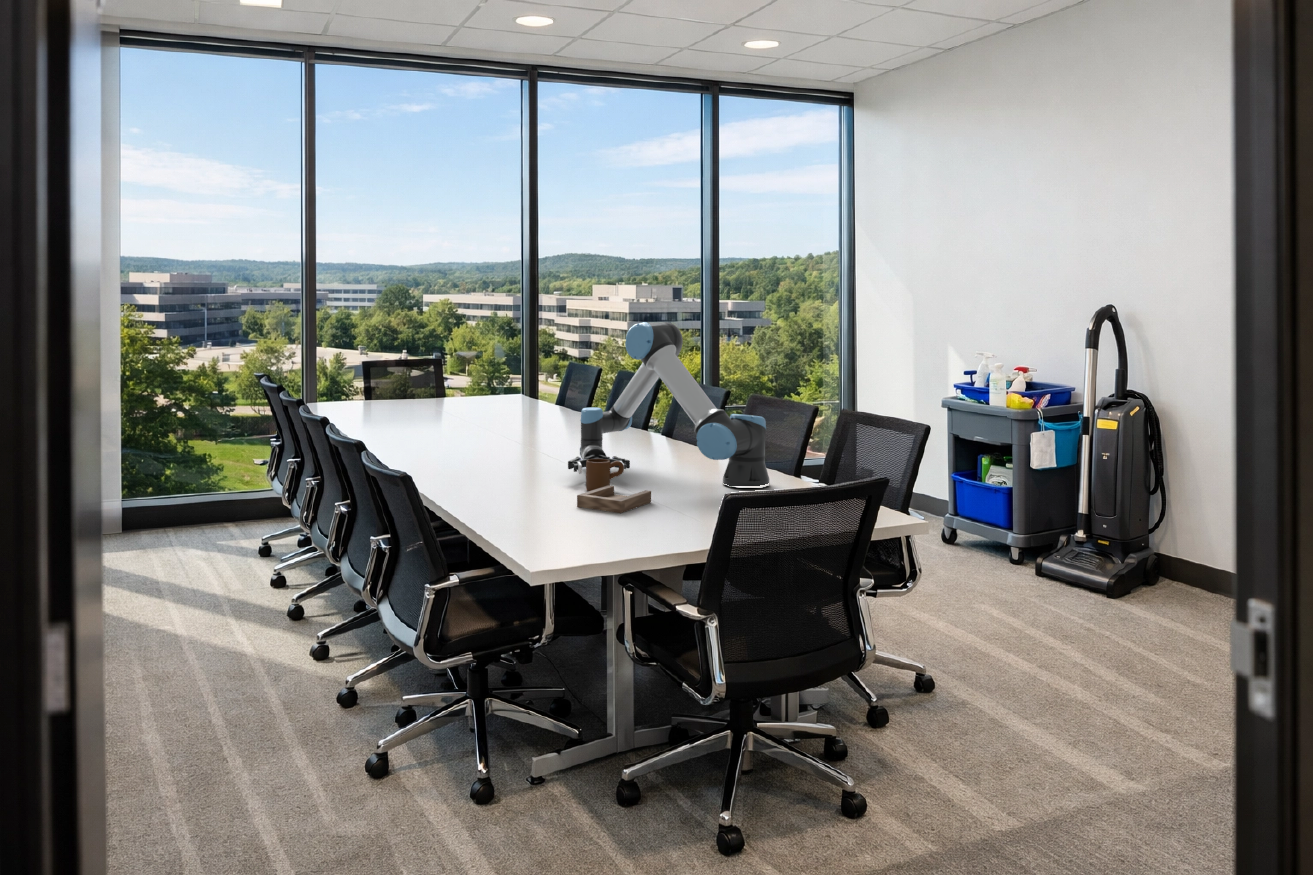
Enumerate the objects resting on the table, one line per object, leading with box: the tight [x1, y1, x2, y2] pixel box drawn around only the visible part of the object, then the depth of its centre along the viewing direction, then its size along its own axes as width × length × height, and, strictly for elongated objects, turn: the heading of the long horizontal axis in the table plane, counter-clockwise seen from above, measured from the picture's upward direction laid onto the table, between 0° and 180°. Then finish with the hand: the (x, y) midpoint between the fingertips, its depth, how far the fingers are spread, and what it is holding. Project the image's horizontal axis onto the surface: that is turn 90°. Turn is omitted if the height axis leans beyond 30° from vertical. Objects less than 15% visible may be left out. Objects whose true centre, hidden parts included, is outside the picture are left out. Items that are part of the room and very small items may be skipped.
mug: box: [585, 459, 625, 492], centre depth 315 cm, size 12×8×9 cm, turn 101°
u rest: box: [576, 484, 652, 514], centre depth 295 cm, size 15×17×4 cm
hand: (601, 469), depth 319 cm, fingers open, 13 cm apart
